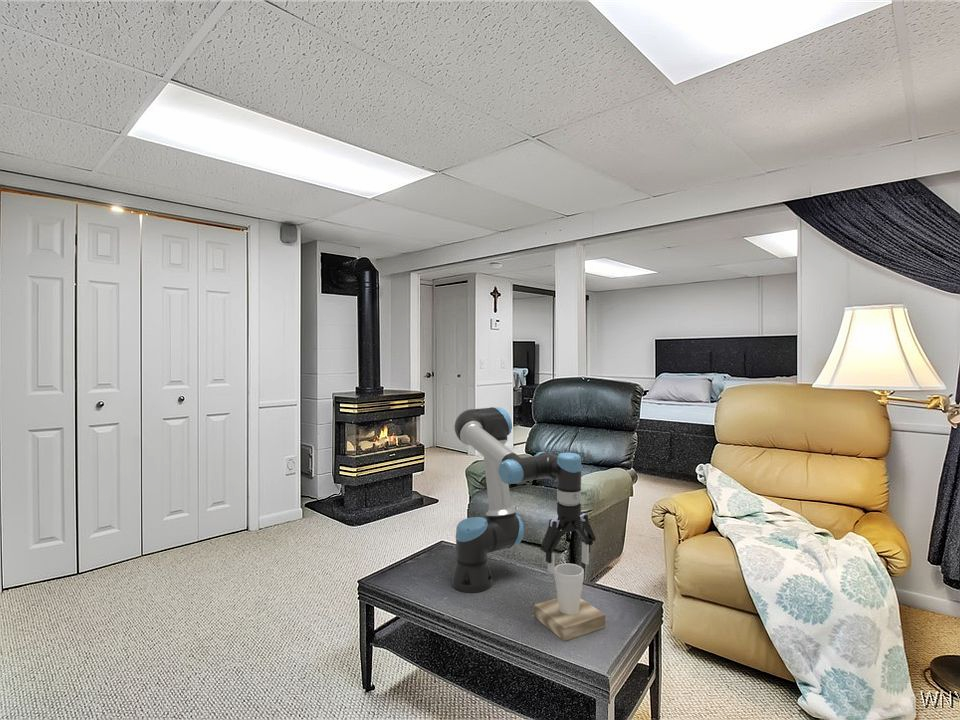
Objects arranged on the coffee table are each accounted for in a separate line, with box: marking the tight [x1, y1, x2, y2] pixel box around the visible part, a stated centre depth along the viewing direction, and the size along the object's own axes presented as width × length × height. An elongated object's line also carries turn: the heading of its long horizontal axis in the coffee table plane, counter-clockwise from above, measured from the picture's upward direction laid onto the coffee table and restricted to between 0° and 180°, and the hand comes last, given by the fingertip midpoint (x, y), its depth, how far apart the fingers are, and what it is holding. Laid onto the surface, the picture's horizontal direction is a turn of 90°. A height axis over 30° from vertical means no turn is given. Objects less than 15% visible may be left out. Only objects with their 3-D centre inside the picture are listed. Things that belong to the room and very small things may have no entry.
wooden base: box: [533, 597, 606, 642], centre depth 167 cm, size 16×16×4 cm
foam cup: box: [553, 563, 585, 615], centre depth 167 cm, size 10×9×13 cm
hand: (568, 567), depth 167 cm, fingers open, 13 cm apart
